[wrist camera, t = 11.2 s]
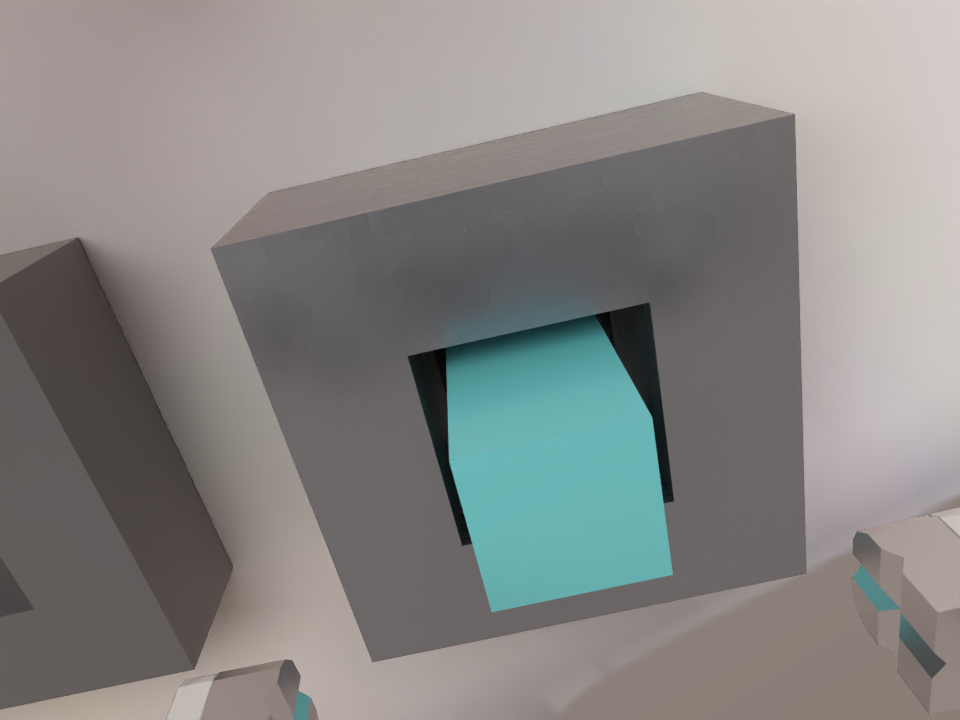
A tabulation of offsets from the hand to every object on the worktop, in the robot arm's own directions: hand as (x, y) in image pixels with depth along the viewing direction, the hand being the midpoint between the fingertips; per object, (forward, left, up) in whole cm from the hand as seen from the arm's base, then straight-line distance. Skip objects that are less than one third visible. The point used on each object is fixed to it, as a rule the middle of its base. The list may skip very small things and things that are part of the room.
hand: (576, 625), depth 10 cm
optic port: (0, 0, -11) cm, 11 cm away
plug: (0, 0, -11) cm, 11 cm away
